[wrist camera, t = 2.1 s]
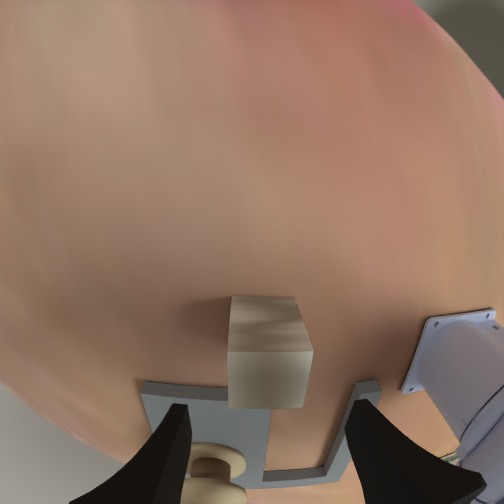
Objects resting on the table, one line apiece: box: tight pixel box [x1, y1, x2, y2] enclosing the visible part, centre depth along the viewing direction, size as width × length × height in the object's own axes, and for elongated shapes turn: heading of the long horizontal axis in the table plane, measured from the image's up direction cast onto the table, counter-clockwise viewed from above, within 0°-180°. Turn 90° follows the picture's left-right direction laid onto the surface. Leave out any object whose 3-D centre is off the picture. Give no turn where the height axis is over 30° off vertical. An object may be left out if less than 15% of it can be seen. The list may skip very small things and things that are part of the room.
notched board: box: [140, 380, 382, 489], centre depth 22 cm, size 19×16×2 cm
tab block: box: [227, 296, 314, 409], centre depth 16 cm, size 4×4×6 cm
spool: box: [181, 442, 247, 504], centre depth 19 cm, size 6×6×5 cm
